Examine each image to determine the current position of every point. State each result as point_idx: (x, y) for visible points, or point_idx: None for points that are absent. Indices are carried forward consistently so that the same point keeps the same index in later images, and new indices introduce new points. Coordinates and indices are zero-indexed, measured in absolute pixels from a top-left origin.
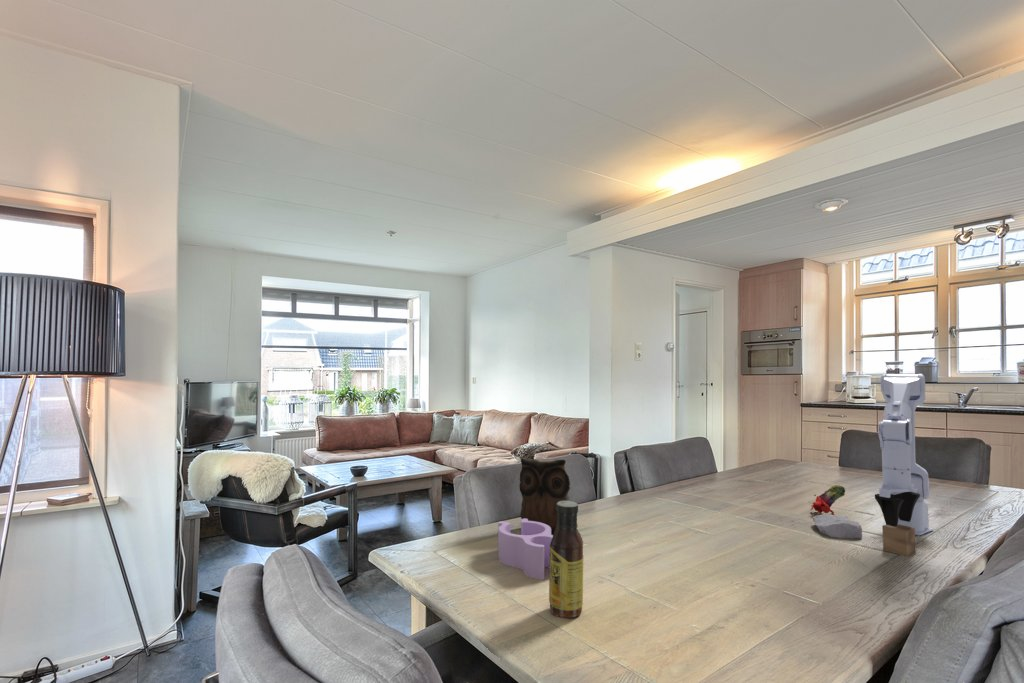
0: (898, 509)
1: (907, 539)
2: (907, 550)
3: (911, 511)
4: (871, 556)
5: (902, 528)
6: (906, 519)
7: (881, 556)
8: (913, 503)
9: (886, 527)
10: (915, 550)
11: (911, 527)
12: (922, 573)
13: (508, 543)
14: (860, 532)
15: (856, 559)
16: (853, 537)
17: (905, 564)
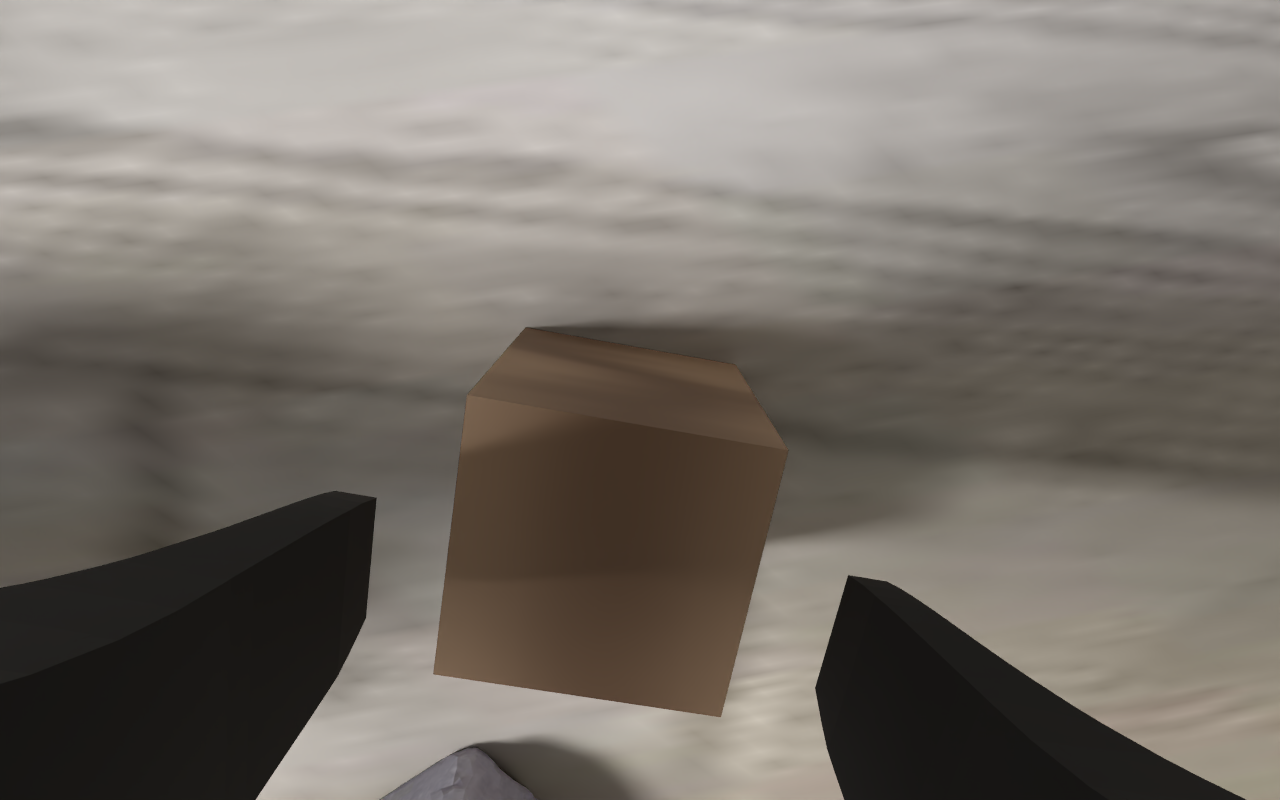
0: (1131, 765)
1: (735, 405)
2: (724, 375)
3: (270, 554)
4: (991, 579)
5: (663, 511)
6: (357, 547)
7: (927, 522)
8: (119, 632)
9: (730, 665)
10: (527, 331)
11: (491, 432)
12: (1221, 165)
13: None
14: (476, 798)
15: (1170, 641)
16: (529, 796)
17: (1031, 328)
